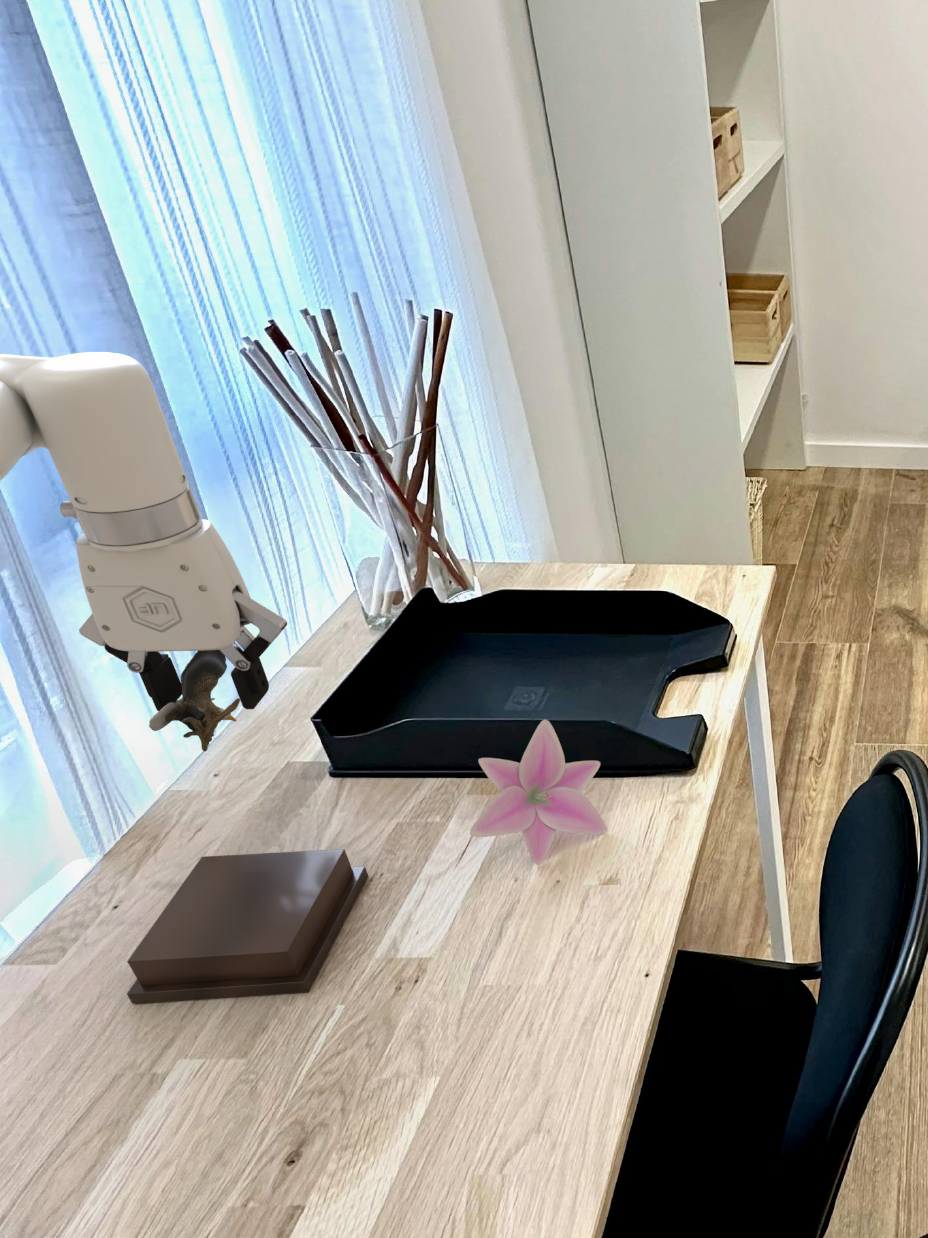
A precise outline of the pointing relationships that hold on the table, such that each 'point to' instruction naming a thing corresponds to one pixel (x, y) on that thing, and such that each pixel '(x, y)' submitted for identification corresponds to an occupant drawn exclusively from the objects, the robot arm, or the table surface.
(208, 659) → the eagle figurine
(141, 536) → the robot arm
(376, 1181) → the table surface
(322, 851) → the display stand
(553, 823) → the lily
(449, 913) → the table surface
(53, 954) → the table surface
